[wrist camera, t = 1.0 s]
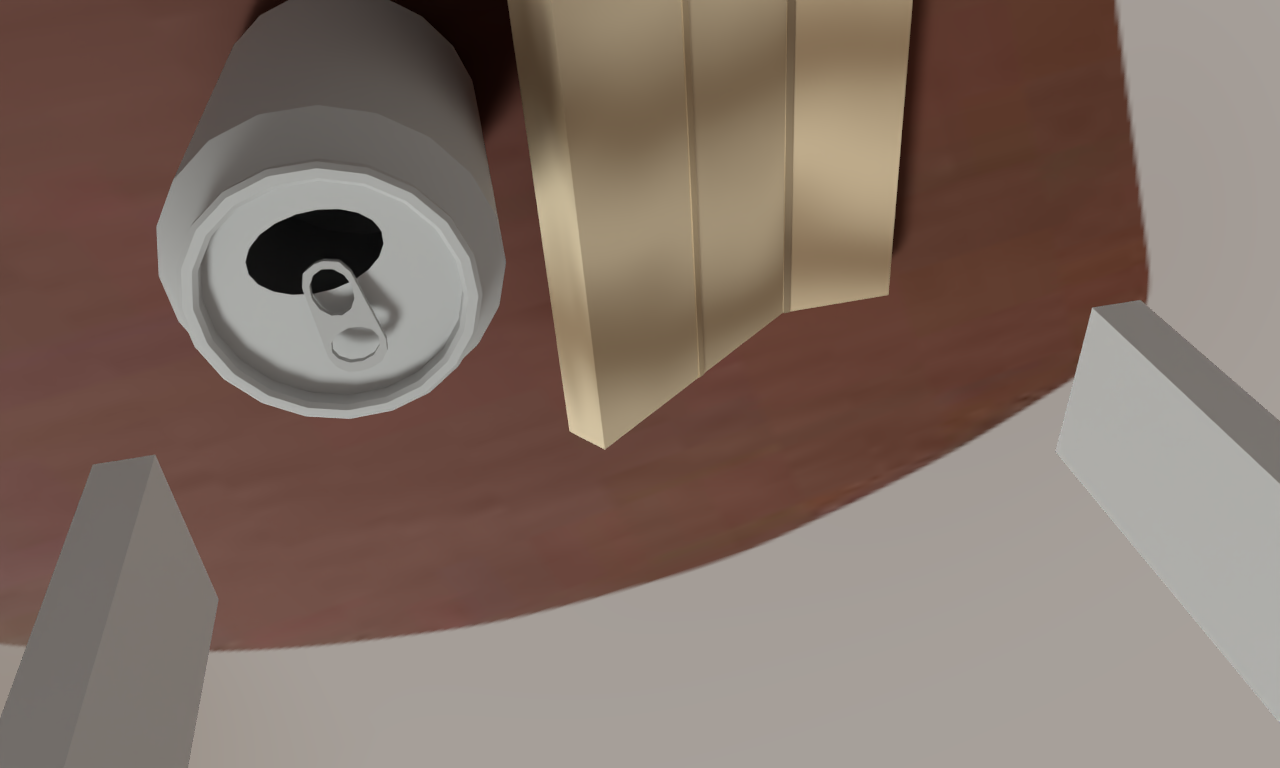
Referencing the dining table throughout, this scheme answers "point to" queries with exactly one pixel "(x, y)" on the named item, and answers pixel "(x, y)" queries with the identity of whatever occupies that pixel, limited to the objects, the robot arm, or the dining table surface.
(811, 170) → the laid board
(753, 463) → the dining table surface
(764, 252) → the plank
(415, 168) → the can
